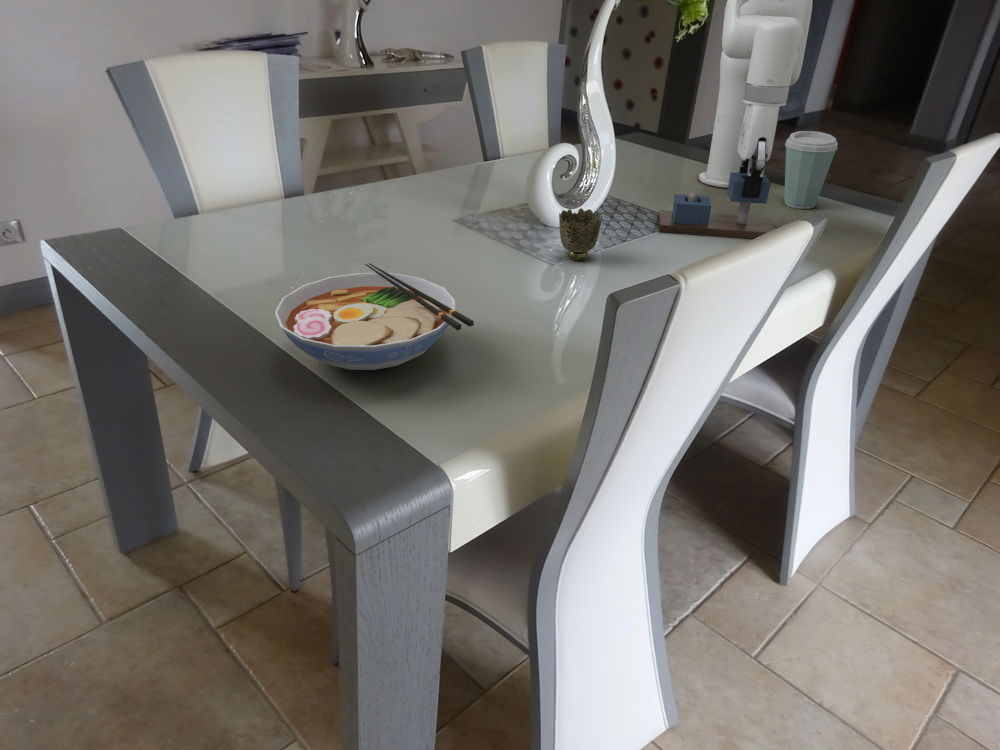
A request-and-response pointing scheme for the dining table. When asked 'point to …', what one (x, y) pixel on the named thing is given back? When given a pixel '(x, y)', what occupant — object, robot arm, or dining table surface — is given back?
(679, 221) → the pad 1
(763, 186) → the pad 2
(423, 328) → the ramen bowl
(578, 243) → the cup
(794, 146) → the disposable coffee cup
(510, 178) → the dining table surface
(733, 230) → the wooden peg board
